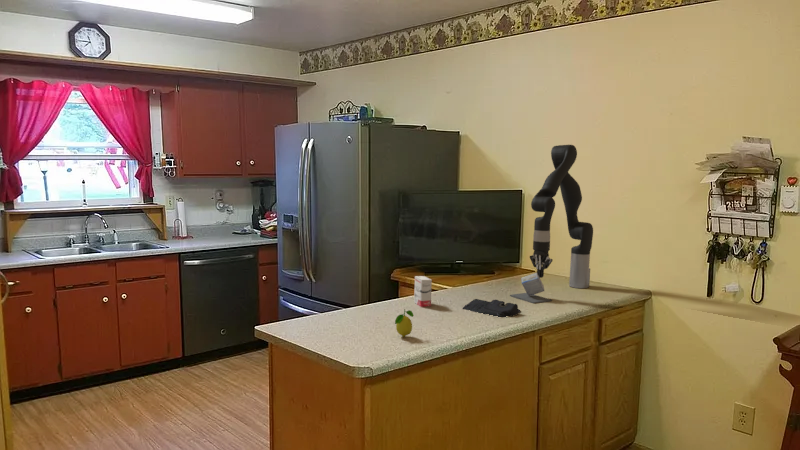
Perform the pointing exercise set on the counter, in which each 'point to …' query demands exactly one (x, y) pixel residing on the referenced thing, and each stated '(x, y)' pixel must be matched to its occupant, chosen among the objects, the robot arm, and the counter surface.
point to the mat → (530, 298)
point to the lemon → (404, 323)
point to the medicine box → (532, 284)
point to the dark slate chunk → (493, 307)
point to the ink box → (422, 291)
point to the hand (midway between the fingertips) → (540, 277)
